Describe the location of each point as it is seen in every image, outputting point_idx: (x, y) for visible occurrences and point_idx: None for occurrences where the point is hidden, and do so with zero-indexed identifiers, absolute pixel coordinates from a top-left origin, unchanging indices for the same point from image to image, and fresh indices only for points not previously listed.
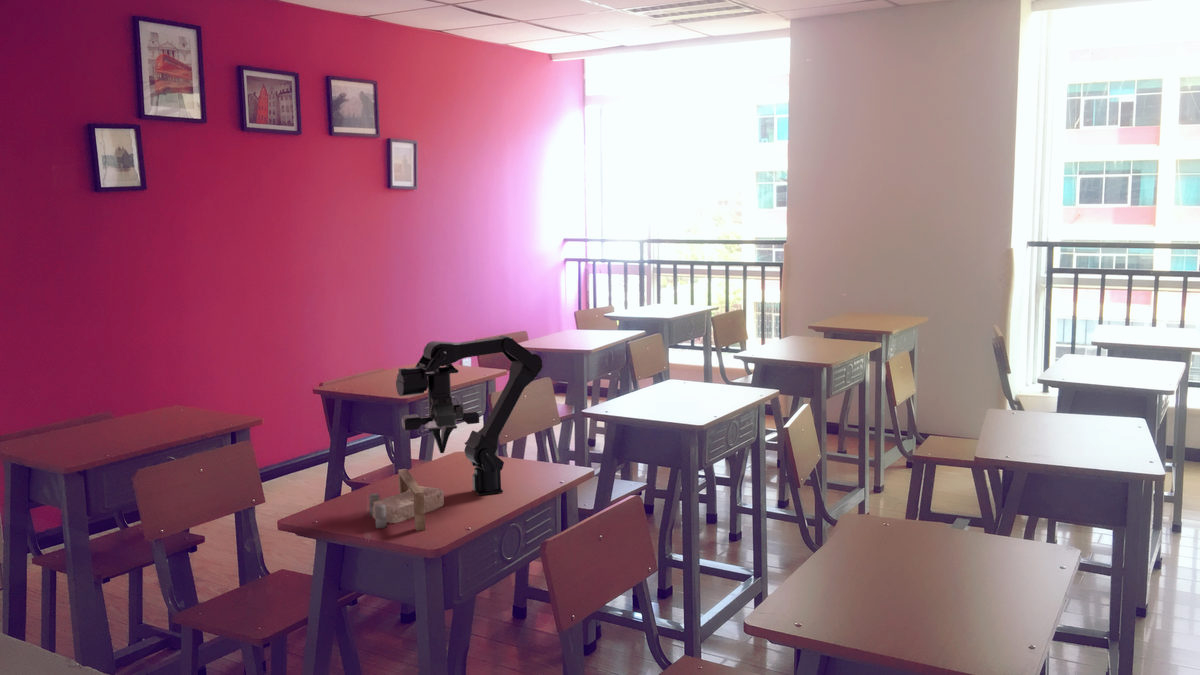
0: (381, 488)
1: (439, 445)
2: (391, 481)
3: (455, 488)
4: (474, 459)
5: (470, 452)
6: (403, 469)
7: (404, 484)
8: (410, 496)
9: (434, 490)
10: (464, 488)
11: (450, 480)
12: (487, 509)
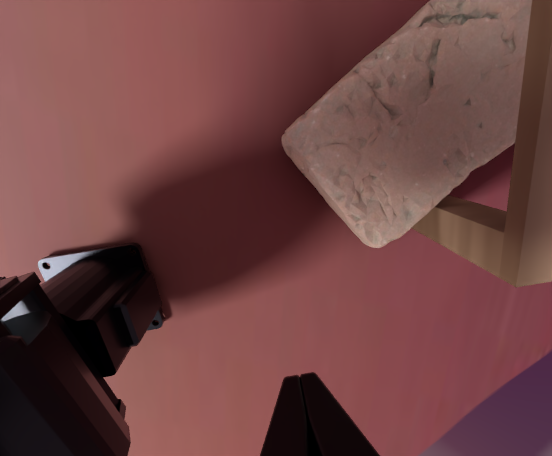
0: (448, 394)
1: (352, 442)
2: (409, 447)
3: (228, 350)
4: (41, 329)
5: (52, 418)
6: (536, 278)
7: (478, 212)
8: (454, 90)
9: (330, 145)
10: (197, 343)
11: (242, 428)
12: (89, 28)
